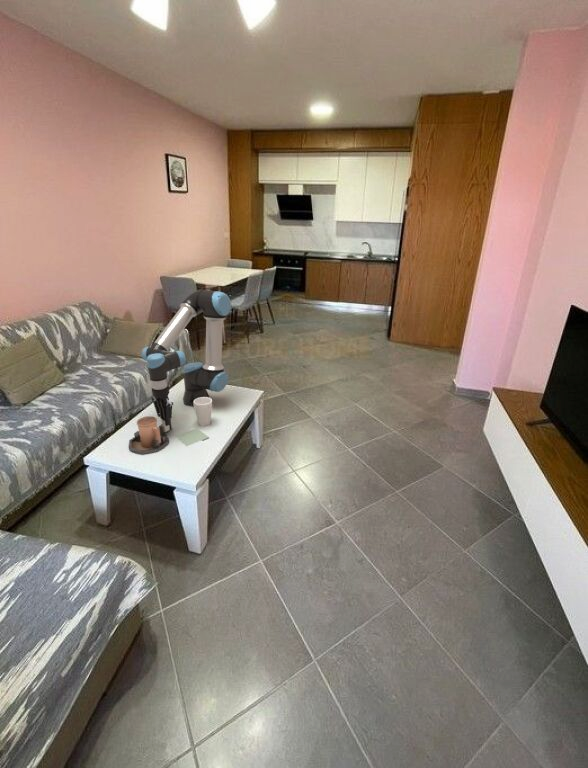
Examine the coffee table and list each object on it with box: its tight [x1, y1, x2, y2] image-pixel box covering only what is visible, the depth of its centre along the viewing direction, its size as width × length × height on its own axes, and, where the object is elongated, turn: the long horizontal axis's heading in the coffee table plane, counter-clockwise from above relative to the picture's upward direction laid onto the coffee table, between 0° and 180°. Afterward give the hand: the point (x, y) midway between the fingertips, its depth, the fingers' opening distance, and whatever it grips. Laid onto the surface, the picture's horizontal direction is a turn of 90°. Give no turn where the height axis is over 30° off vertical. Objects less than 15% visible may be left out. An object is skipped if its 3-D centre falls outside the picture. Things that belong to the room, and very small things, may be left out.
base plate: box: [128, 437, 170, 456], centre depth 171 cm, size 18×18×1 cm
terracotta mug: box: [136, 416, 161, 448], centre depth 168 cm, size 9×11×12 cm
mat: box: [174, 427, 210, 447], centre depth 177 cm, size 12×12×1 cm
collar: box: [128, 418, 173, 455], centre depth 172 cm, size 24×17×6 cm
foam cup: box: [193, 397, 213, 427], centre depth 188 cm, size 10×9×13 cm
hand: (166, 430), depth 178 cm, fingers closed
